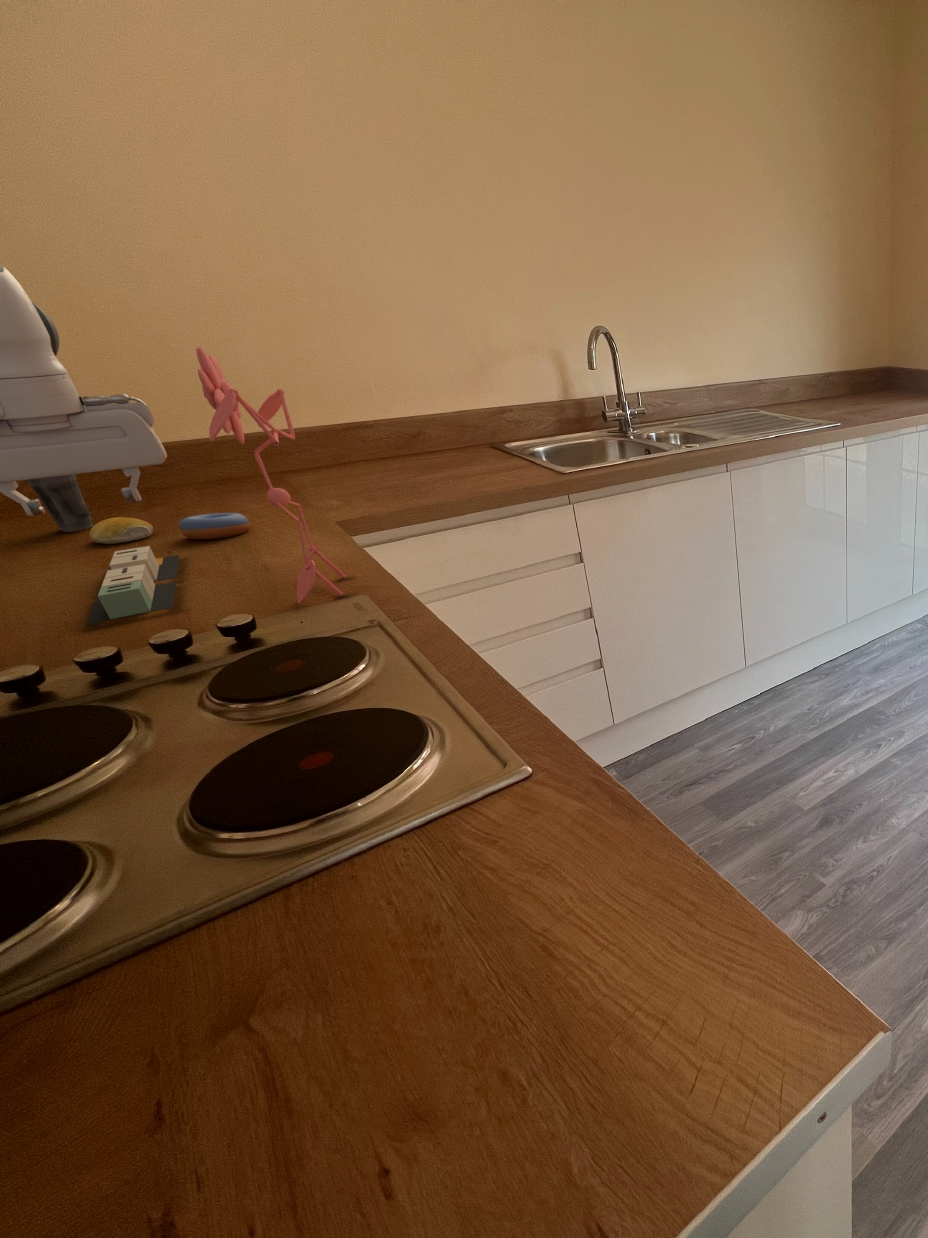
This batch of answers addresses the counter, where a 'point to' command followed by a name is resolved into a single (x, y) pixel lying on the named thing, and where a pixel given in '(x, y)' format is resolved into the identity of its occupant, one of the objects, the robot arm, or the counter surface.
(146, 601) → the slotted green block
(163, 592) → the mats
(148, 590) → the white slotted box
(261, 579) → the counter surface
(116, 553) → the off-white marked cube
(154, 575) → the slotted cream cube
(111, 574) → the white slotted cube
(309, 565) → the figurine
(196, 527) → the doughnut
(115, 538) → the bread roll
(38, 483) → the beverage cup
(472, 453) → the counter surface
